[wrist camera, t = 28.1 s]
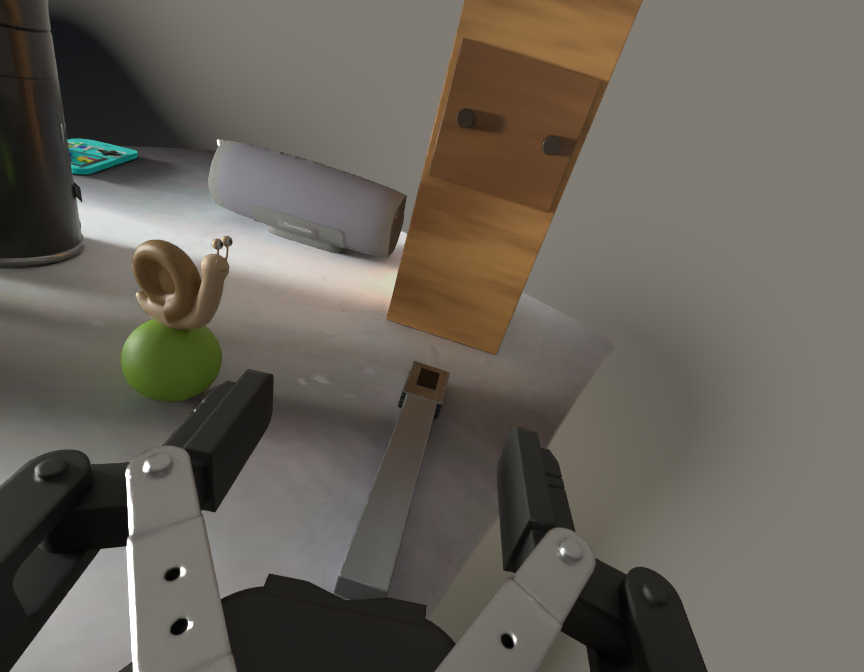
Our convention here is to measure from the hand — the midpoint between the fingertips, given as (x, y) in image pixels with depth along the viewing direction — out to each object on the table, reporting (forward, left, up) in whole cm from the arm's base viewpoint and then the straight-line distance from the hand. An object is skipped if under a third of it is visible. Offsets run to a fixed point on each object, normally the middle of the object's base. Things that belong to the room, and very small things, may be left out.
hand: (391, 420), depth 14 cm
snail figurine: (+5, +16, -12) cm, 21 cm away
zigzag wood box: (+34, +8, -12) cm, 37 cm away
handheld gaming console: (+29, +65, -12) cm, 72 cm away
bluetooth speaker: (+35, +30, -12) cm, 48 cm away
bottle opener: (+11, +2, -12) cm, 16 cm away
